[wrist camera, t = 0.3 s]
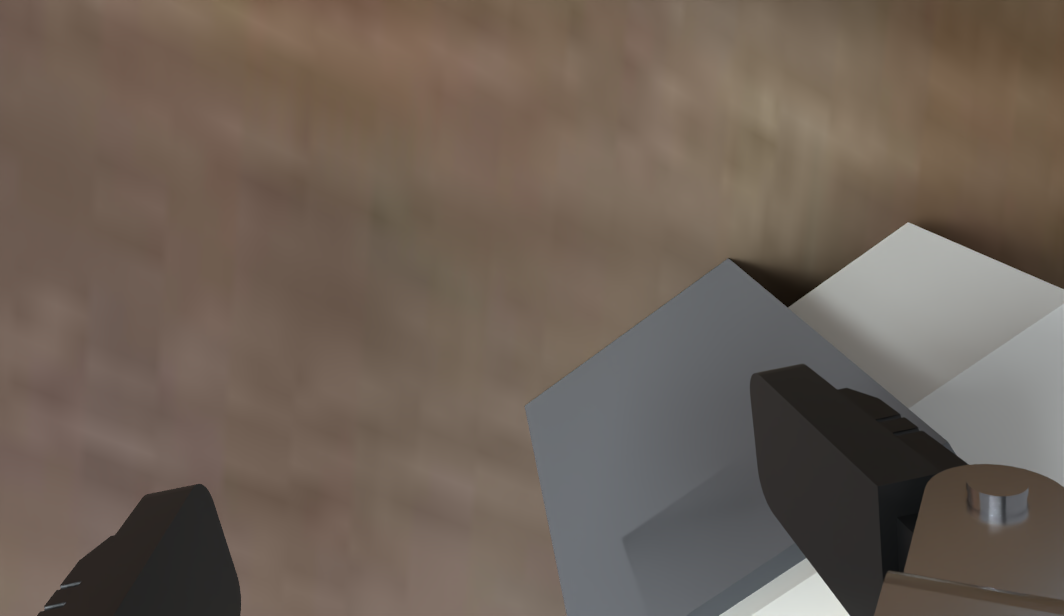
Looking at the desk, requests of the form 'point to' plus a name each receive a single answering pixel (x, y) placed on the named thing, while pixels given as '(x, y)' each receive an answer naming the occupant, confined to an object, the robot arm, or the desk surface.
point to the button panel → (681, 461)
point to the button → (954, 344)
